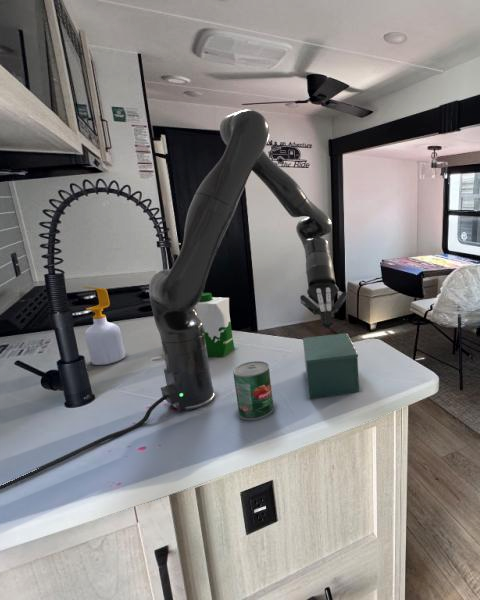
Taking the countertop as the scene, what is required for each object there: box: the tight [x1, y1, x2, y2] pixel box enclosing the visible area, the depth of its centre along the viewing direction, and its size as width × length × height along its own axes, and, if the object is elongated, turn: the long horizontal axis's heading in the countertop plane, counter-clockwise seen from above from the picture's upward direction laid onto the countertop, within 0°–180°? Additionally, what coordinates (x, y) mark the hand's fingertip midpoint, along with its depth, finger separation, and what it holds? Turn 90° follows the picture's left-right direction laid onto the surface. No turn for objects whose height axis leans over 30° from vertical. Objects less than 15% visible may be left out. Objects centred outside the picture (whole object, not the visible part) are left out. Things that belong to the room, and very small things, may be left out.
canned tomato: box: [232, 360, 275, 421], centre depth 89 cm, size 8×8×11 cm
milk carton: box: [195, 292, 235, 358], centre depth 125 cm, size 9×9×20 cm
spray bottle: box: [82, 286, 126, 366], centre depth 121 cm, size 9×9×25 cm
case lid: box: [302, 332, 359, 364], centre depth 101 cm, size 16×13×1 cm
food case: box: [302, 342, 360, 399], centre depth 103 cm, size 16×13×10 cm
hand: (327, 326), depth 99 cm, fingers closed
